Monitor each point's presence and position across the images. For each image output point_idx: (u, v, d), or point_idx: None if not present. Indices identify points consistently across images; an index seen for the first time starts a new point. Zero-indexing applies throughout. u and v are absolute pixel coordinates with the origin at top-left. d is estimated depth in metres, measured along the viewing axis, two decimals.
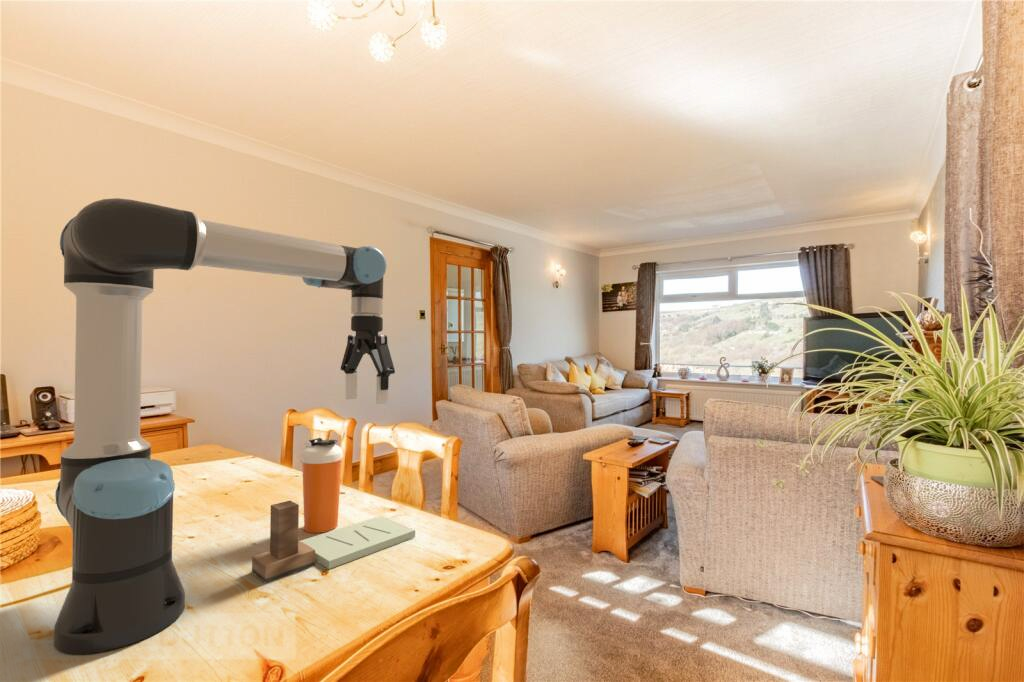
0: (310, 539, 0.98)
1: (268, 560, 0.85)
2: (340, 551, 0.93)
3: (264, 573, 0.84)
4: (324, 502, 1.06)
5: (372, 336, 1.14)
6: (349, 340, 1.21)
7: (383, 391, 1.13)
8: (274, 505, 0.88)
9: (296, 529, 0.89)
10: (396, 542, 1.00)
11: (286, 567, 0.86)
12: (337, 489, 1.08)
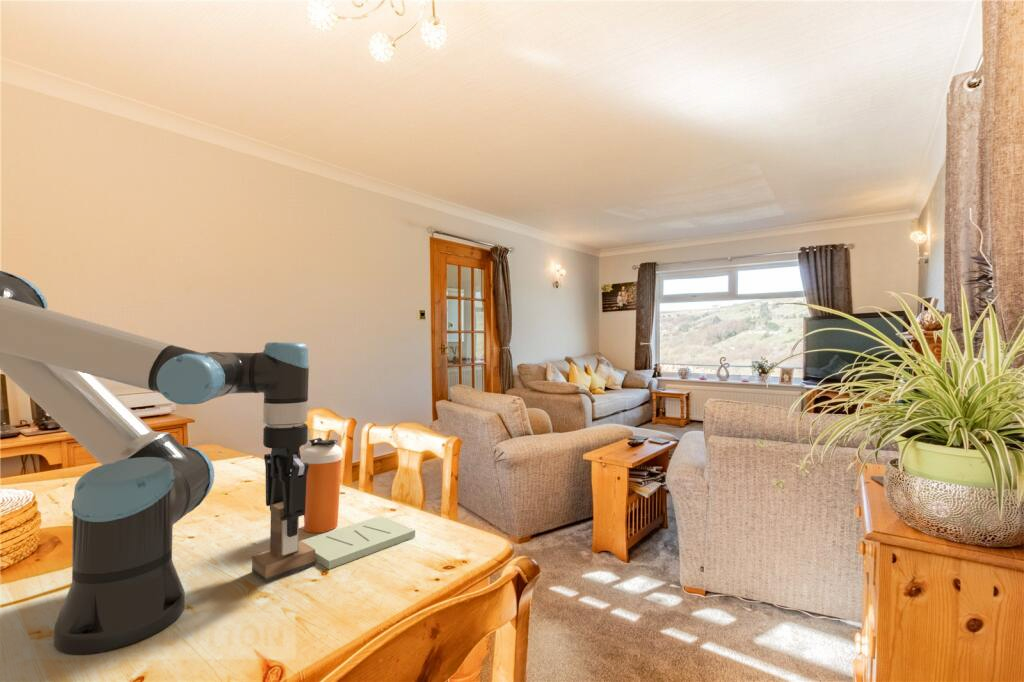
0: (310, 539, 0.98)
1: (268, 560, 0.86)
2: (340, 551, 0.93)
3: (264, 572, 0.84)
4: (324, 502, 1.06)
5: (290, 458, 0.86)
6: (266, 461, 0.92)
7: (291, 536, 0.87)
8: (274, 504, 0.88)
9: None
10: (396, 542, 1.00)
11: (286, 566, 0.86)
12: (337, 489, 1.08)
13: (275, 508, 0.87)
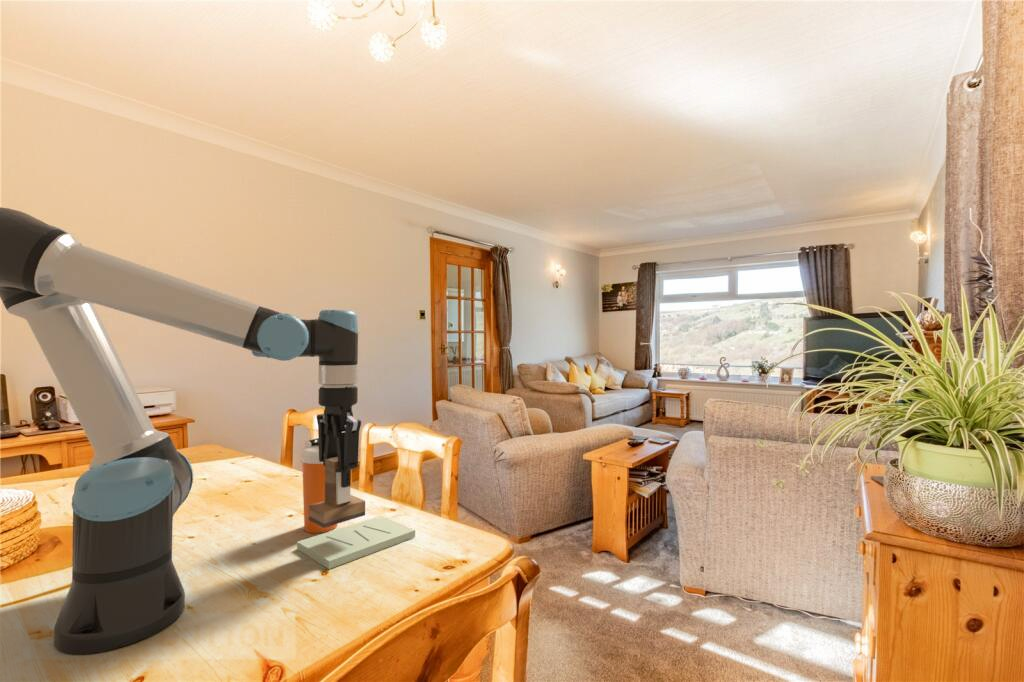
0: (310, 539, 0.98)
1: (324, 508, 0.94)
2: (340, 551, 0.93)
3: (322, 518, 0.92)
4: None
5: (344, 415, 0.94)
6: (319, 420, 1.00)
7: (344, 488, 0.95)
8: (328, 459, 0.96)
9: None
10: (396, 542, 1.00)
11: (341, 514, 0.94)
12: None
13: (330, 462, 0.95)
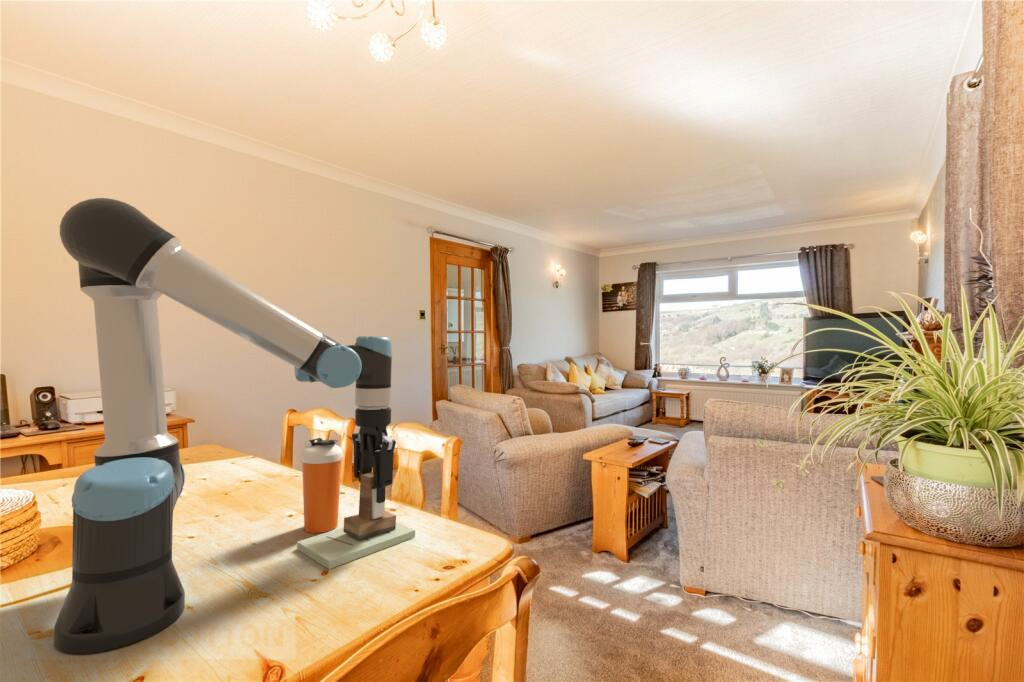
0: (310, 539, 0.98)
1: (359, 521, 0.99)
2: (340, 551, 0.93)
3: (358, 530, 0.97)
4: (324, 502, 1.06)
5: (380, 436, 1.00)
6: (354, 439, 1.06)
7: (379, 503, 1.01)
8: (364, 474, 1.03)
9: None
10: (396, 542, 1.00)
11: (374, 527, 1.00)
12: (337, 489, 1.08)
13: (365, 477, 1.02)
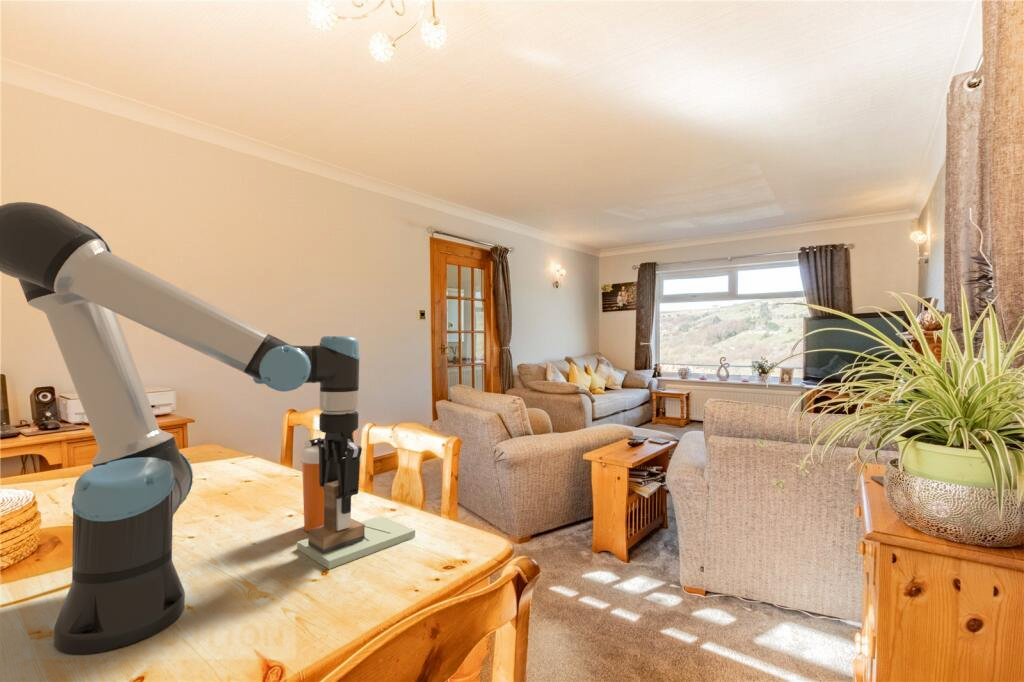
0: None
1: (324, 533, 0.94)
2: (340, 551, 0.93)
3: (322, 544, 0.92)
4: None
5: (345, 442, 0.94)
6: (320, 445, 1.00)
7: (345, 514, 0.95)
8: (328, 483, 0.96)
9: None
10: (396, 542, 1.00)
11: (340, 539, 0.94)
12: None
13: (329, 486, 0.95)
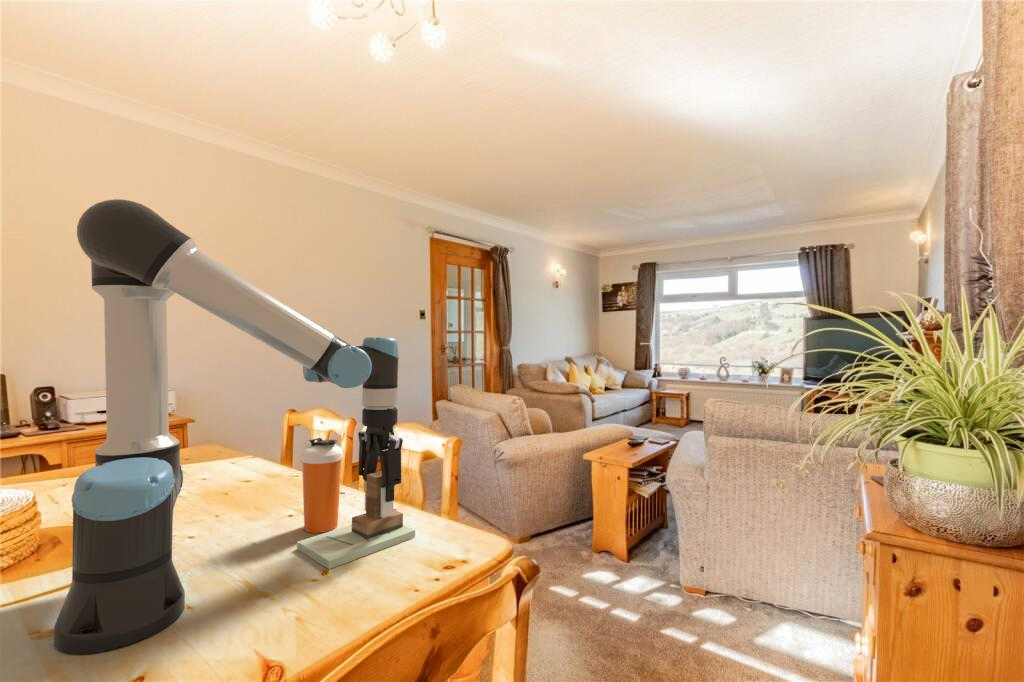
0: (310, 539, 0.98)
1: (367, 520, 1.01)
2: (340, 551, 0.93)
3: (366, 530, 0.99)
4: (324, 502, 1.06)
5: (387, 435, 1.01)
6: (360, 437, 1.07)
7: (388, 502, 1.02)
8: (370, 474, 1.04)
9: None
10: (396, 542, 1.00)
11: (382, 526, 1.01)
12: (337, 489, 1.08)
13: (371, 477, 1.03)
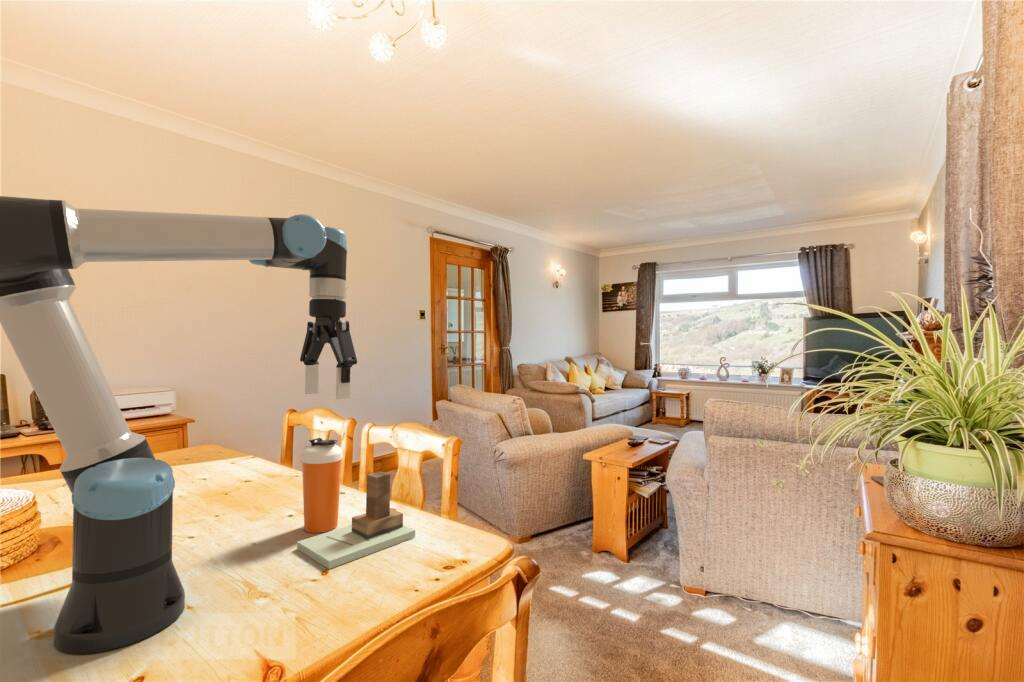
0: (310, 539, 0.98)
1: (367, 520, 1.01)
2: (340, 551, 0.93)
3: (366, 530, 0.99)
4: (324, 502, 1.06)
5: (332, 322, 1.01)
6: (309, 327, 1.07)
7: (344, 384, 0.99)
8: (370, 474, 1.04)
9: (388, 495, 1.04)
10: (396, 542, 1.00)
11: (382, 526, 1.02)
12: (337, 489, 1.08)
13: (371, 477, 1.03)
